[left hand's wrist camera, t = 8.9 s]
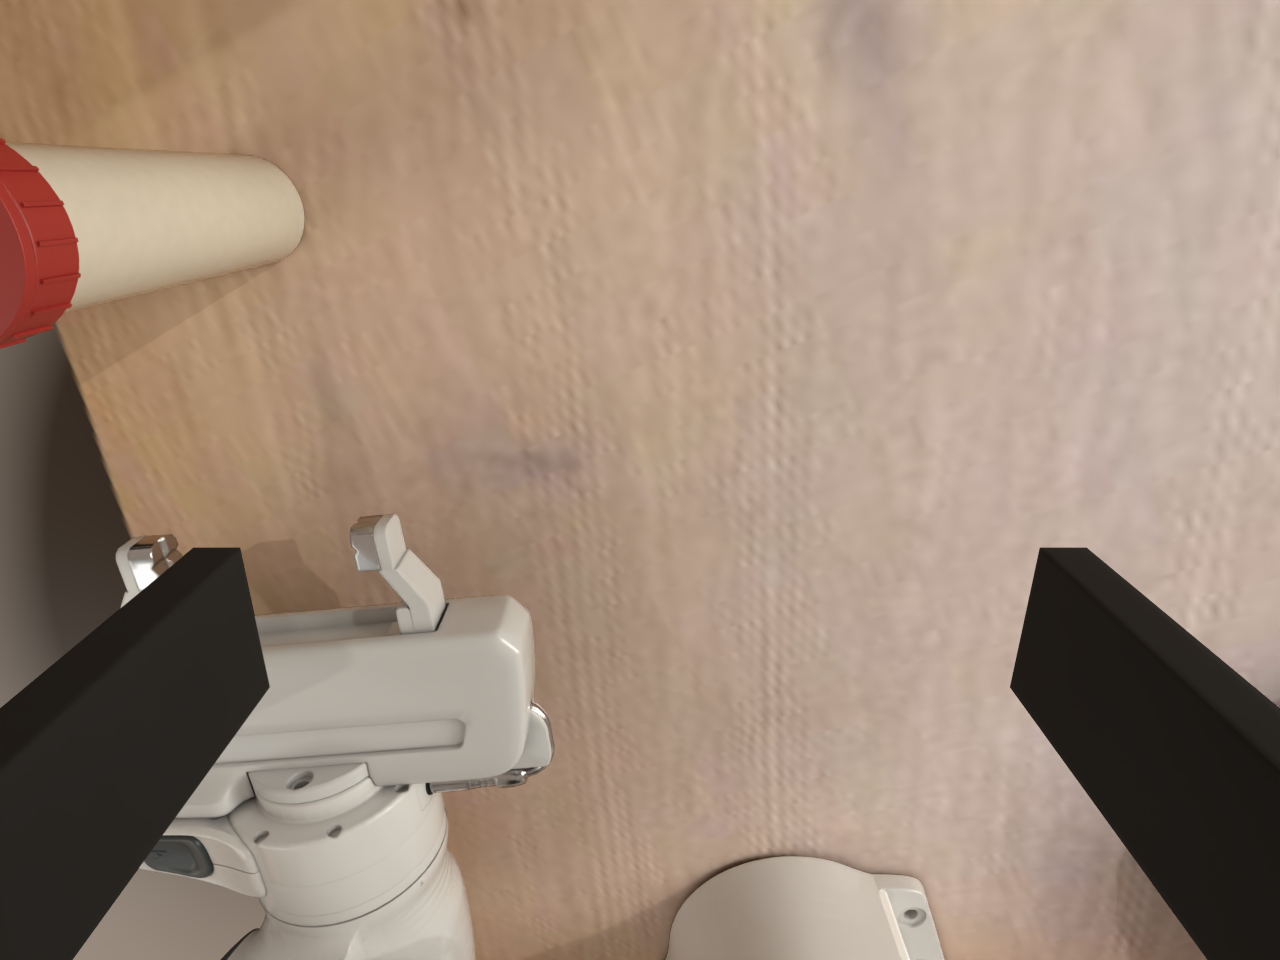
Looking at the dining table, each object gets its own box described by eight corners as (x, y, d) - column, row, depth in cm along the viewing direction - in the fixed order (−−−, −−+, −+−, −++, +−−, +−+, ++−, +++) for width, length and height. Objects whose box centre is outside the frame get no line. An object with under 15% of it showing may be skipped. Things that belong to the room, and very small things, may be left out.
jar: (320, 251, 33) (58, 314, 18) (225, 275, 34) (-108, 354, 19) (280, 143, 32) (-42, 113, 17) (181, 168, 32) (-222, 162, 17)
